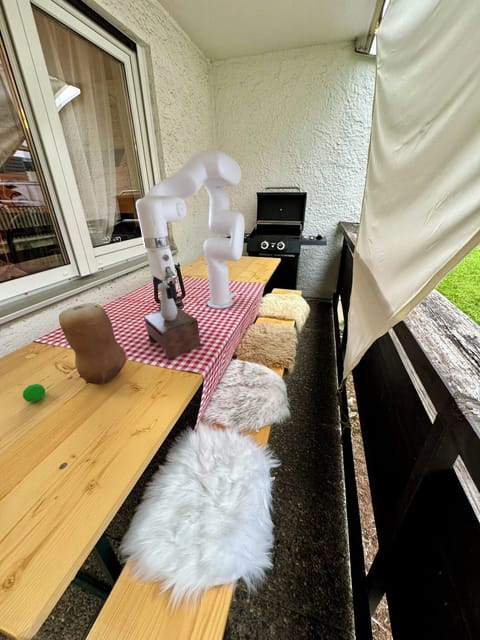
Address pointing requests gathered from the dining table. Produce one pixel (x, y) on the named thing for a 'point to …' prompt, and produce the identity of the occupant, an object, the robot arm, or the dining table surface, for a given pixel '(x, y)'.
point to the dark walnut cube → (173, 332)
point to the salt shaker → (167, 304)
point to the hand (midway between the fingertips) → (165, 293)
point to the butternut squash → (92, 342)
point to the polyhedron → (34, 392)
